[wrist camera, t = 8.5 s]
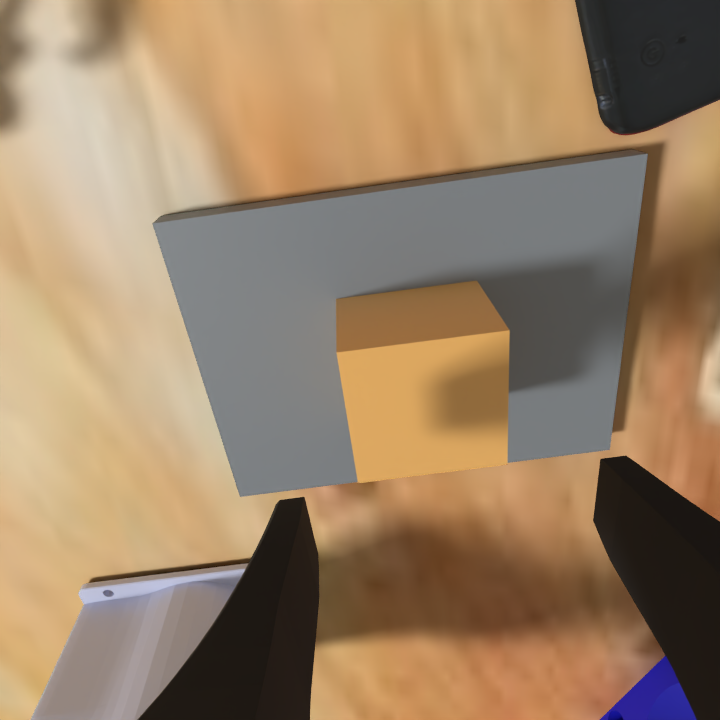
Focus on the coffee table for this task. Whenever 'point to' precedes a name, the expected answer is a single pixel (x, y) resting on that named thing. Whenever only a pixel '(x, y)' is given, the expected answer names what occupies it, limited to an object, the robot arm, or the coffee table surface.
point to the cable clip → (654, 698)
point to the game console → (651, 59)
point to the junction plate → (402, 272)
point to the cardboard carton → (424, 380)
